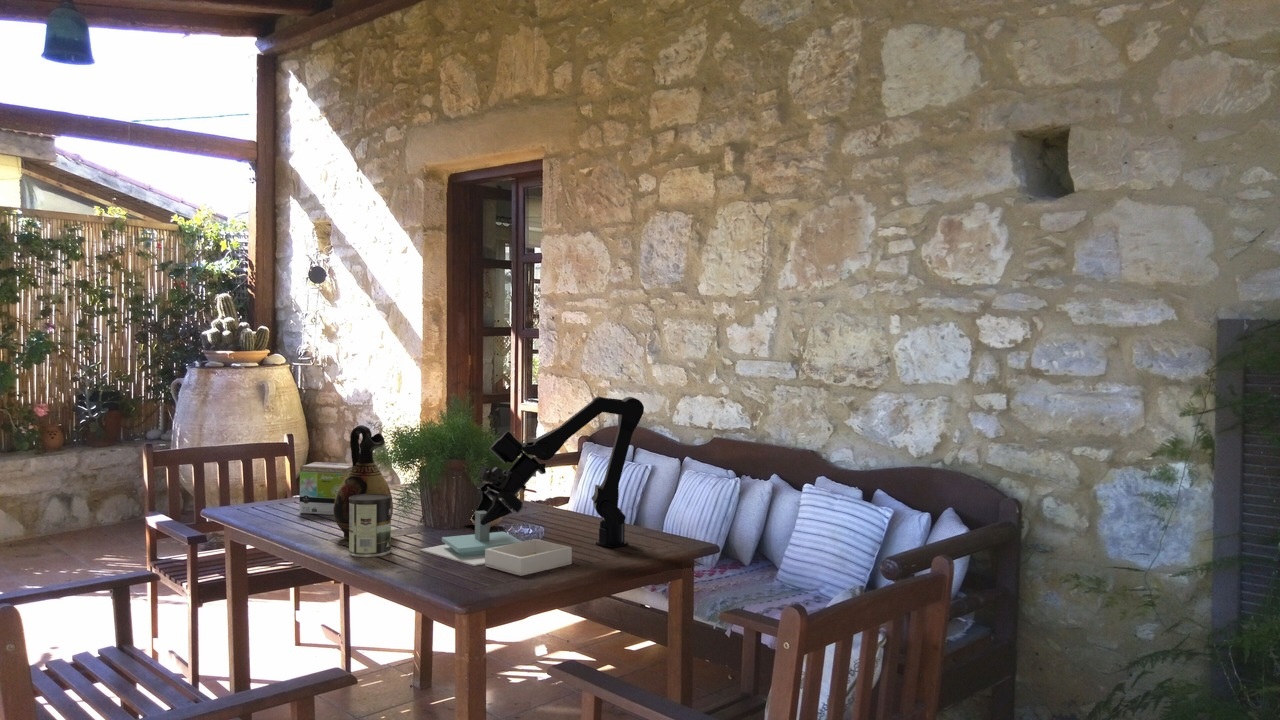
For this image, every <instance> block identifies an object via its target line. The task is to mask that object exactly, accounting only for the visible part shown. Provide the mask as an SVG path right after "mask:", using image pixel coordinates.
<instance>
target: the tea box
mask: <svg viewBox="0 0 1280 720" xmlns="http://www.w3.org/2000/svg"><path fill="white" fill-rule="evenodd" d="M352 467H353V463H344V462H343V463H342V462H321V461H314V462H311V463H308V464H304V465H300V466H299V499H298V500H299V506H298V507H299V510H298V511H299V514H313V515H314V514H315V515H327V516H328V515H329V516H334V512H333V508H334V502H335V498H336V495H337V493H338V490H339V488H340V486H341V484H342V483H343V481H344V480H345V478H346V476H347V475H348V473H350V471H351V470H352Z"/></svg>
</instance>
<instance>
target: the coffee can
mask: <svg viewBox="0 0 1280 720" xmlns="http://www.w3.org/2000/svg"><path fill="white" fill-rule="evenodd" d="M391 495H392V494H391ZM391 495H388V494H360V495H354V496H351V497H349V540H348V546H349V548H348V555H349V556H352V557H355V558H376V557H382V556H386V555H389V554H390V553H392V518H391V499H392V500H393V495H392V496H391Z"/></svg>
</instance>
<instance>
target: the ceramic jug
mask: <svg viewBox="0 0 1280 720" xmlns="http://www.w3.org/2000/svg"><path fill="white" fill-rule="evenodd" d="M371 431H372V430H371V428H369V427H368V426H365V425H364V424H360V425H357V426H355V427H354V428H353V429H352V431H351V433H350V436H349V437H350V438H349V440H350V442H349V445H350V446H349V447H350V456H351V462H352V463H351V464H353V467H352V470H351V471H350V473H348V475H347V476H346V478H345V480H344V481H343V483H342V484H341V486H340V488H339V490H338V493H337V495H336V498H335V502H334V508H333V512H334V515H333V518H334V521H335V523H336V525H337V527H339V528H340V530H341V532H343V538H344V540H347V541H349V497H351V496H354V495H360V494H388V495H391V496H392V497H393V495H392V492H391V489H390V486H389V484H388V482H387V481H386V479H385V477H384V476H383V474H382V472H381V470H380V469H379V467H378V465H376V464H377V463H376V462H375V461H374V457H373V456H374V455H373V451H374V450H376V449H378V448H381V447H383V446H384V445H385V438H384V437H383V435H382V434H381V433H380V432H378V433H376V434H373V436H372V432H371ZM360 435H361V437H362V438H361V441H360V440H359V439H360ZM393 512H394V503H393V498H392V499H391V519H392V518H393Z"/></svg>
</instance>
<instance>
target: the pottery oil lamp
mask: <svg viewBox="0 0 1280 720" xmlns="http://www.w3.org/2000/svg"><path fill="white" fill-rule="evenodd" d="M472 516H473V515H472ZM502 519H503V517H500V518H498V519H496V520H494V521H492V522H490V529H492V528H493V527H494V526H496V525H497V524H498V523H499V522H501V521H502ZM470 520H471V521H472V523H473V524H472V525H473V526H475V521H474V520H473V519H472V517H471V519H470ZM491 527H492V528H491Z"/></svg>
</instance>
